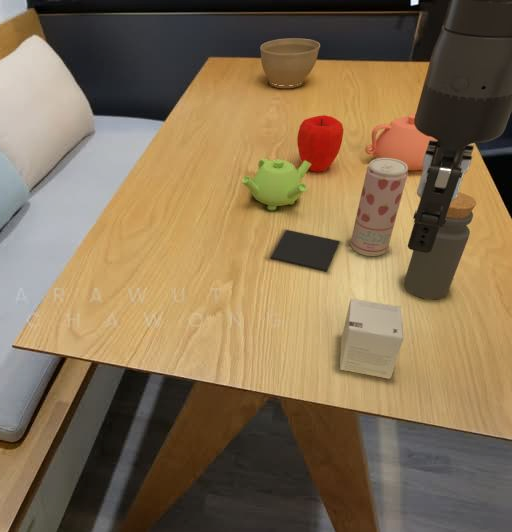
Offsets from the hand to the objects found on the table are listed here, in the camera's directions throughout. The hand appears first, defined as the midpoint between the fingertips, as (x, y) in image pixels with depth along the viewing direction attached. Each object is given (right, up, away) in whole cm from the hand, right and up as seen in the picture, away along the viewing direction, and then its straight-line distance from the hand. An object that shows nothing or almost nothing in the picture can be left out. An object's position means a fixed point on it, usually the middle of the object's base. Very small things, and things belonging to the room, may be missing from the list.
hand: (423, 229), depth 57 cm
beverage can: (+9, -1, +30) cm, 31 cm away
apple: (+9, +17, +54) cm, 57 cm away
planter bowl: (+17, +50, +97) cm, 111 cm away
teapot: (-2, +8, +44) cm, 45 cm away
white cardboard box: (-1, -16, +11) cm, 20 cm away
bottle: (+13, -7, +21) cm, 25 cm away
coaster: (-2, -1, +31) cm, 31 cm away
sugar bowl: (+26, +18, +52) cm, 61 cm away
